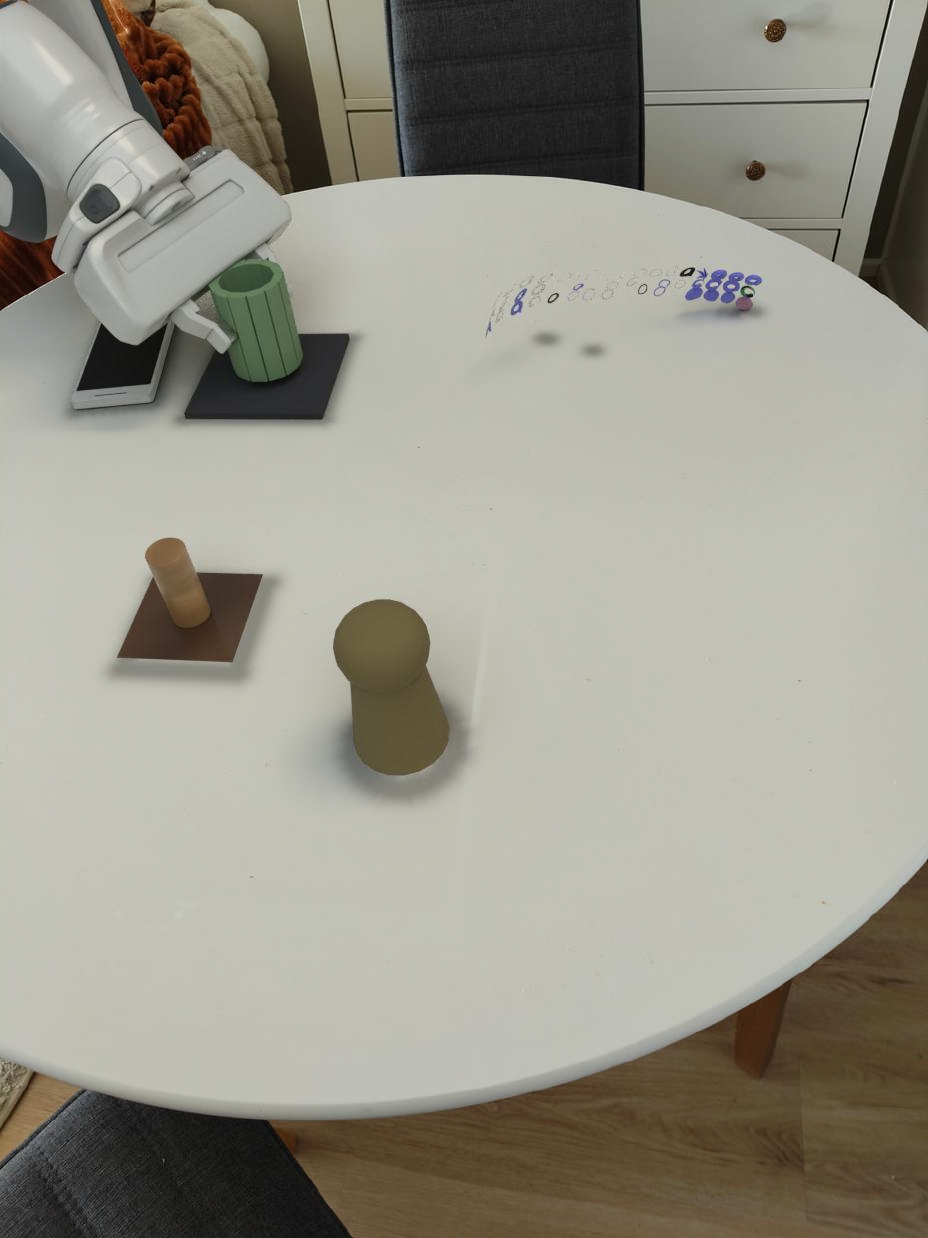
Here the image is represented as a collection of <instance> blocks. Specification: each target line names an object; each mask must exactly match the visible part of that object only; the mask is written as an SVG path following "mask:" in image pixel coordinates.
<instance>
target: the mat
mask: <svg viewBox="0 0 928 1238" xmlns="http://www.w3.org/2000/svg"><path fill="white" fill-rule="evenodd" d="M298 336H299V340H300V344H301V349H302V353H303V358H302V361H301V363H300V366H298V368H297V369H296V370H294V371H293V372H291V373H290V374H289V375H285V377H283V378H279V379H276V380H273V381H269V380H268V382H252V381H248V380H245V379H243V378H241V377H239V376H237V374H236V372H235V370H234V368H233V365H232V362H231V359H230V355H229V352H228V350H227V351H225V352H224V353H220V352H218V351H217V350H216V349H215V348H214V351H213V353H212V355H211V358H210V360H209V362H208V364H207V366H206V367H205V370H204V372H203V373H202V376H201V378H200V380H199V382H198V384H197V386H196V388H195V390H194V392H193V394H192V396H191V398H190V399H189V403H188V404H187V405H186V407H185V409H184V412H183V414H184V417H185V419H222V420H223V419H224V420H225V419H227V420H228V419H231V420H232V419H233V420H234V419H235V420H236V419H239V420H241V419H242V420H243V419H244V420H245V419H246V420H249V419H252V420H253V419H254V420H255V419H256V420H257V419H258V420H261V419H262V420H272V419H273V420H322V419H323V418H324V415H325V412H326V409H327V406H328V403H329V400H330V397H331V395H332V391H333V388H334V385H335V382H336V380H337V377H338V374H339V371H340V369H341V366H342V362H343V359H344V357H345V353H346V351H347V348H348V345H349V342H350V333H347V332H346V333H343V332H342V333H298Z"/></svg>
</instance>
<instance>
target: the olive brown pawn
mask: <svg viewBox="0 0 928 1238" xmlns="http://www.w3.org/2000/svg"><path fill="white" fill-rule="evenodd" d="M430 649H431V637H430V634H429V630H428V627H427V624H426V623H425V621H424V619H423V618H422V617H421V615H420V614H419V613H418V612H417V611H416V610H415V609H413V608H412V607H410V606H409V605H407V604H405V603H404V602H401V601H398V600H394V599H391V598H388V599H387V598H385V599H384V598H380V599H379V598H378V599H377V598H376V599H373V600H369V601H365V602H363V603H360V604H359V605H357V606H355V607H353V608H352V609H350V610H349V611H348V612H347V613H346V614H345V615H343V618H342V619H341V620H340V622H339V624H338V626H337V627H336V628H335V631H334V636H333V642H332V651H333V655H334V660H335V662H336V666H337V668H338V669H339V670H340V672H341V674H342V675H343V676H344V677H345V679H346V680H347V681H348V682H349V684H350V685H349V686H350V703H351V704H350V705H351V719H352V720H351V721H352V734H353V735H352V736H353V744H354V748H355V752H356V754H357V756H358V757H359V759H360V760H361V761H362V763H363V764H364V765H365V766H367V767H368V768H370V769H371V770H372V771H374V772H377V773H380V774H383V775H387V776H408V775H411V774H415V773H419V772H422V771H423V770H425V769H426V768H429V767H430V766H432V765H433V764H435V762H436V761H437V760H438V759H439V758H440V757H441V756H442V755H443V754H444V753H445V750H446V748H447V746H448V744H449V742H450V734H451V733H450V731H451V728H450V724H449V721H448V718H447V715H446V712H445V709H444V707H443V705H442V702H441V700H440V697H439V695H438V692H437V690H436V687H435V684H434V681H433V679H432V677H431V674H430V672H429V670H428V669H429V668H428V667H427V663H428V661H429V657H430Z"/></svg>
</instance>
